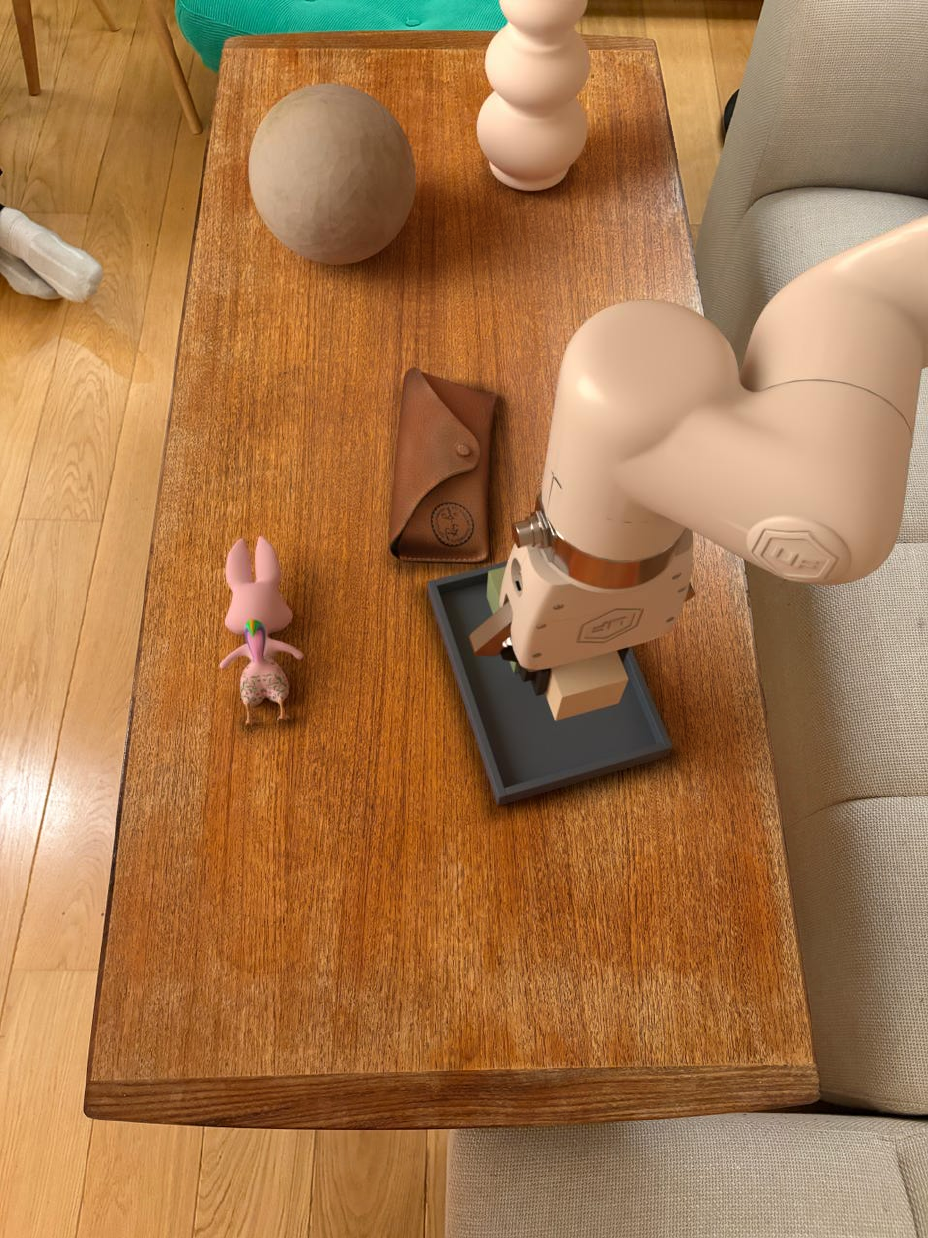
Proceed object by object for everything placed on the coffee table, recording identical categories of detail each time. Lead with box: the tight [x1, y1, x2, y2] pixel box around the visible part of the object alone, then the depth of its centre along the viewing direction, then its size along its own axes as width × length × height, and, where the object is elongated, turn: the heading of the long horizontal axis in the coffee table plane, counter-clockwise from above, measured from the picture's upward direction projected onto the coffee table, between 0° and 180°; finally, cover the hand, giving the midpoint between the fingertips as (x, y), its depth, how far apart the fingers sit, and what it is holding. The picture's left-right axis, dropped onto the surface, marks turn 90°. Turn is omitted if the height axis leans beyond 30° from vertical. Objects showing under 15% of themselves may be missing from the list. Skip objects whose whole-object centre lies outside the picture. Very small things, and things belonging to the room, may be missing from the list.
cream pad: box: [545, 650, 629, 721], centre depth 66 cm, size 4×7×4 cm, turn 17°
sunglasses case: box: [388, 366, 498, 564], centre depth 84 cm, size 18×7×7 cm
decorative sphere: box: [248, 83, 417, 266], centre depth 91 cm, size 15×15×15 cm
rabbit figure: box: [219, 535, 304, 726], centre depth 76 cm, size 6×6×15 cm
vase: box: [476, 0, 591, 192], centre depth 92 cm, size 11×11×25 cm
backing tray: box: [427, 560, 674, 807], centre depth 76 cm, size 13×18×2 cm
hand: (570, 664), depth 68 cm, fingers closed on cream pad, 4 cm apart
